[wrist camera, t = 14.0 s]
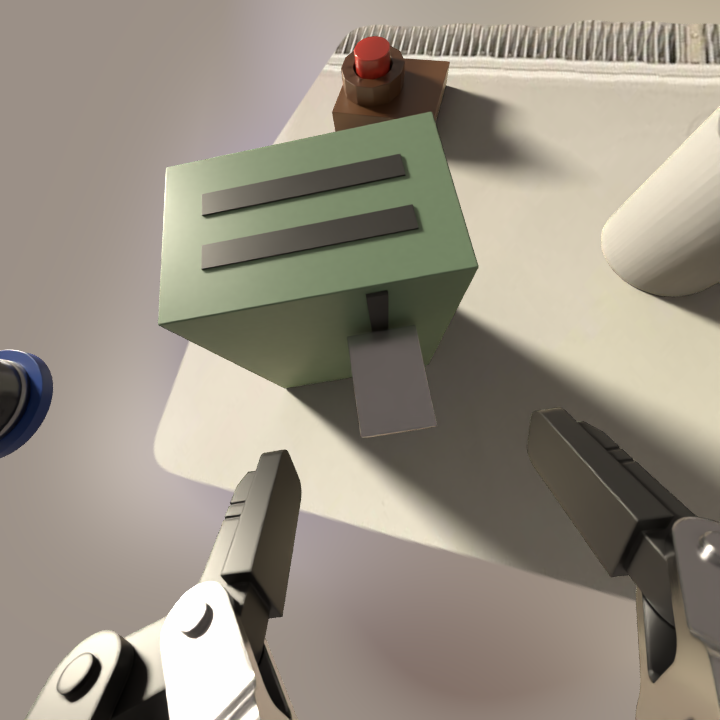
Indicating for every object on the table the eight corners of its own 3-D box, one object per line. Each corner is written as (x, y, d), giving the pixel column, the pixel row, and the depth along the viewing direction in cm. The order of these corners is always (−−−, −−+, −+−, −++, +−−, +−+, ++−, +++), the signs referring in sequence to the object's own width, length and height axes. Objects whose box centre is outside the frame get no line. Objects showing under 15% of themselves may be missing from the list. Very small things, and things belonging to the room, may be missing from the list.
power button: (352, 80, 31) (349, 59, 29) (361, 56, 32) (359, 34, 30) (385, 82, 30) (384, 61, 28) (393, 58, 31) (393, 37, 29)
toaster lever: (364, 438, 15) (360, 437, 13) (351, 348, 17) (346, 336, 15) (431, 427, 15) (437, 426, 13) (412, 337, 16) (415, 323, 14)
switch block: (335, 132, 34) (328, 93, 30) (356, 77, 36) (352, 34, 32) (429, 143, 32) (435, 102, 28) (446, 84, 34) (453, 39, 30)
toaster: (284, 390, 26) (155, 329, 12) (278, 304, 29) (164, 165, 14) (429, 367, 25) (481, 270, 11) (410, 281, 28) (432, 108, 13)
